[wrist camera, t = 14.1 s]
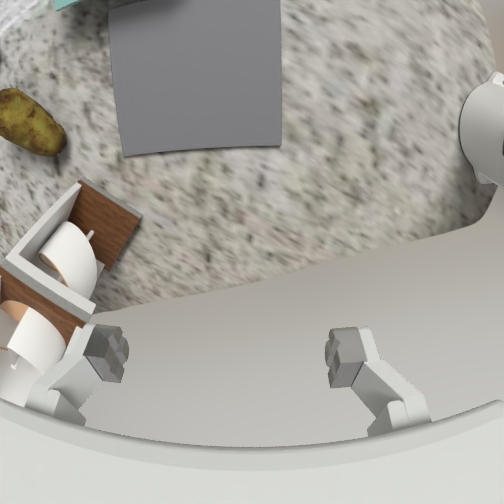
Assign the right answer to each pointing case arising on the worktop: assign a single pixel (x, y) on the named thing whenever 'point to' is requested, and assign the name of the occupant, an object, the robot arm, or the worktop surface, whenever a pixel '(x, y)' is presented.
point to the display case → (56, 282)
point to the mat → (196, 74)
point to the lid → (64, 4)
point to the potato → (29, 124)
